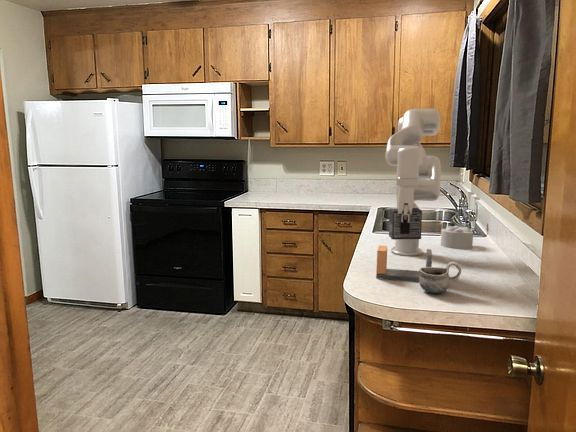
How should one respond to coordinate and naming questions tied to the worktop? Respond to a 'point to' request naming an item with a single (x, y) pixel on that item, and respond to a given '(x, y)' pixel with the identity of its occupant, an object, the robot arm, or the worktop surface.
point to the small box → (414, 222)
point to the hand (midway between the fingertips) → (404, 230)
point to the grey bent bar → (405, 272)
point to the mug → (437, 278)
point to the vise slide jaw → (381, 259)
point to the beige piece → (457, 237)
